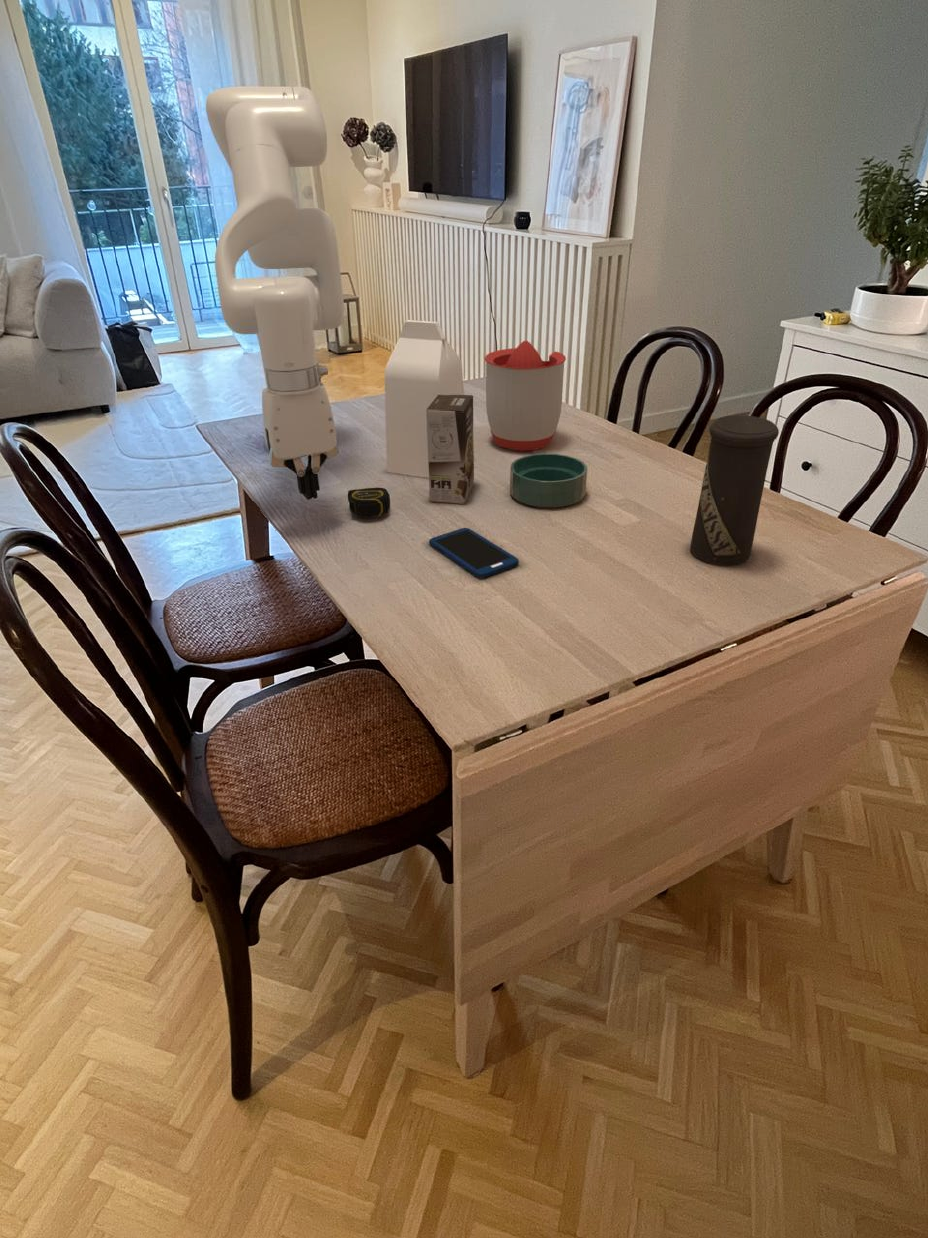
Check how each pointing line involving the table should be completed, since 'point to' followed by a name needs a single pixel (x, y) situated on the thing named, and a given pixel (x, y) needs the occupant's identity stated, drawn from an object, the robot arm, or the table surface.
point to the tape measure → (369, 502)
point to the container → (732, 489)
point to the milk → (416, 393)
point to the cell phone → (473, 552)
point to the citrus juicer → (523, 396)
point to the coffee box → (450, 448)
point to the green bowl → (548, 480)
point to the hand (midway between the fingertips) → (310, 496)
